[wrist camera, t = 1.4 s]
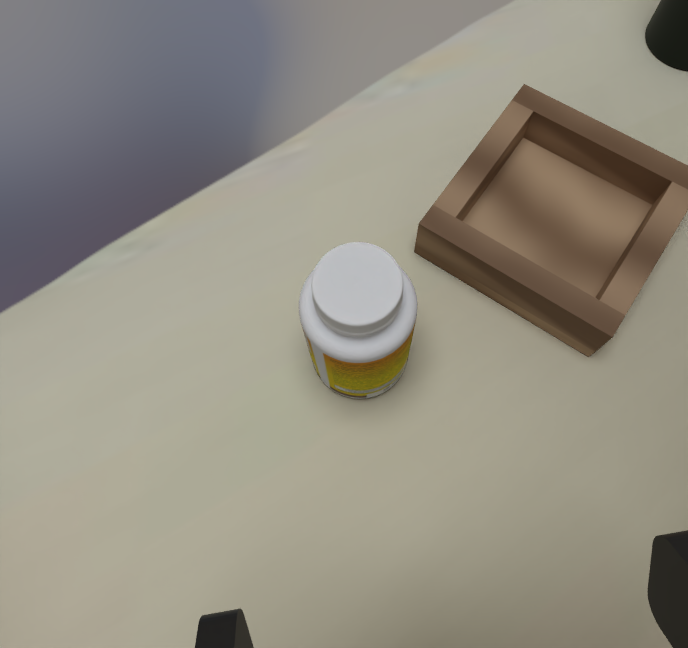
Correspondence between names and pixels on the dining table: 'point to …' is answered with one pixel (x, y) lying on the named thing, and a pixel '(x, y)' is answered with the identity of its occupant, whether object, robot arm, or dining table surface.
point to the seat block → (557, 218)
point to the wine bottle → (670, 33)
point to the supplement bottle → (358, 319)
